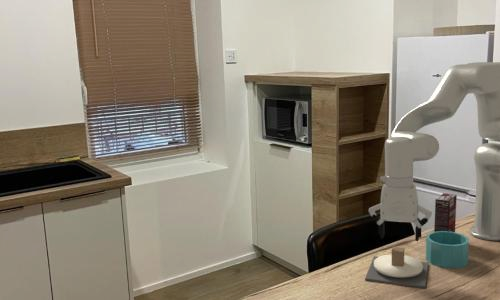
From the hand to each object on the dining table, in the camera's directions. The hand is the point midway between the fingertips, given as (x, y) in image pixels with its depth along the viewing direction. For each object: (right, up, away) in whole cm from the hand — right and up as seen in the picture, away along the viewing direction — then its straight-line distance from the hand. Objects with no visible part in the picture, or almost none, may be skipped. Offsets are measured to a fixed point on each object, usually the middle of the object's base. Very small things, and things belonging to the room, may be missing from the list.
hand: (399, 237), depth 140 cm
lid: (0, -9, +1) cm, 9 cm away
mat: (0, -10, +2) cm, 10 cm away
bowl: (+17, -8, +8) cm, 20 cm away
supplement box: (+21, -6, +21) cm, 31 cm away
